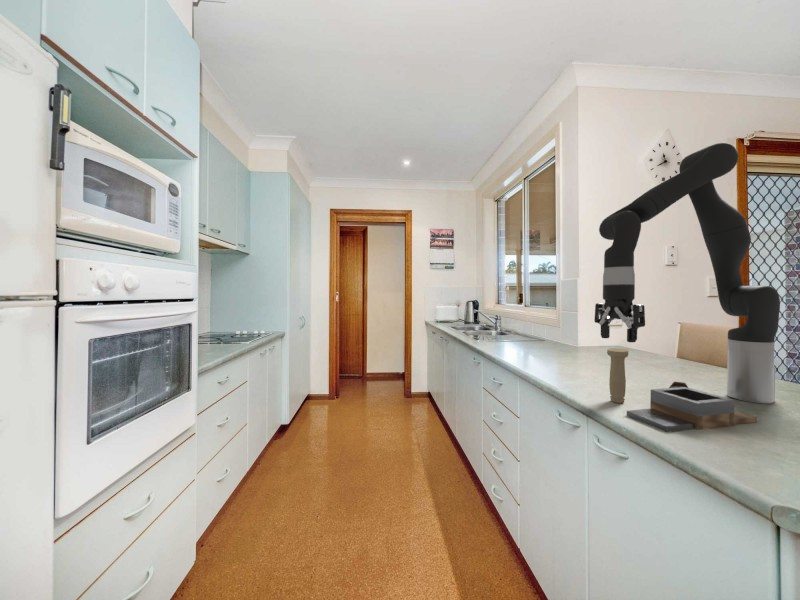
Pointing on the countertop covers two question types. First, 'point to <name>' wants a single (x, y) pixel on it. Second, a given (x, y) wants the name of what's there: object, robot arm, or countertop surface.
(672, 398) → the grey storage bin
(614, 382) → the handle
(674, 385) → the dark brown oblong lump
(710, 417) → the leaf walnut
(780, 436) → the countertop surface
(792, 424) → the countertop surface
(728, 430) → the countertop surface
